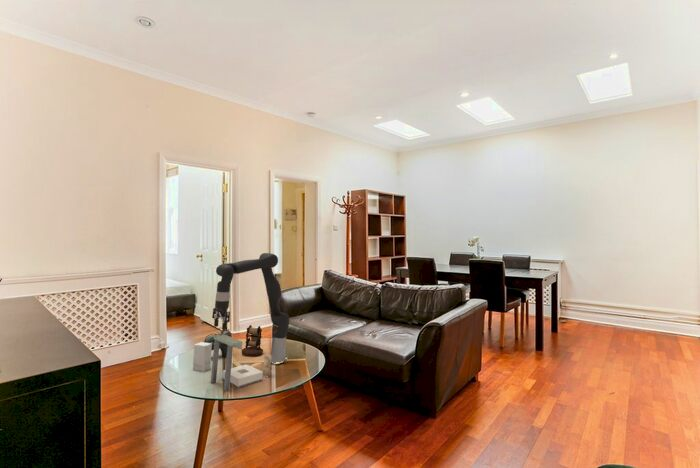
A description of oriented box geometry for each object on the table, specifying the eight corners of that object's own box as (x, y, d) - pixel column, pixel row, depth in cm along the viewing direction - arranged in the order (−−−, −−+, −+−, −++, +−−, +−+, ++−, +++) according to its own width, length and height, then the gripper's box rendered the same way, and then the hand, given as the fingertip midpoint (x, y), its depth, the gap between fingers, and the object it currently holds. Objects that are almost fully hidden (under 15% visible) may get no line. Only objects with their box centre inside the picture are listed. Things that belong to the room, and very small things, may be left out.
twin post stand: (221, 379, 196) (225, 334, 197) (238, 388, 186) (242, 341, 187) (209, 382, 191) (213, 336, 192) (226, 392, 180) (231, 343, 181)
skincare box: (210, 368, 211) (213, 343, 211) (203, 372, 204) (205, 346, 205) (199, 366, 213) (201, 341, 213) (191, 370, 206) (194, 344, 207)
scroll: (266, 352, 250) (268, 324, 251) (257, 358, 236) (260, 329, 237) (246, 349, 253) (249, 322, 253) (237, 355, 238) (240, 326, 239)
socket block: (245, 372, 209) (246, 364, 209) (262, 380, 199) (262, 371, 199) (221, 379, 196) (222, 370, 196) (237, 388, 186) (238, 378, 186)
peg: (266, 374, 209) (268, 354, 209) (270, 376, 206) (272, 356, 207) (261, 375, 206) (263, 355, 206) (265, 377, 203) (267, 357, 204)
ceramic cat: (226, 354, 240) (229, 325, 240) (231, 356, 235) (234, 327, 236) (198, 359, 224) (201, 329, 225) (203, 362, 220) (206, 331, 221)
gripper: (235, 300, 195) (232, 329, 195) (221, 297, 204) (219, 324, 204) (223, 302, 189) (220, 331, 189) (209, 298, 198) (207, 326, 198)
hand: (220, 328), depth 196 cm, fingers open, 8 cm apart
